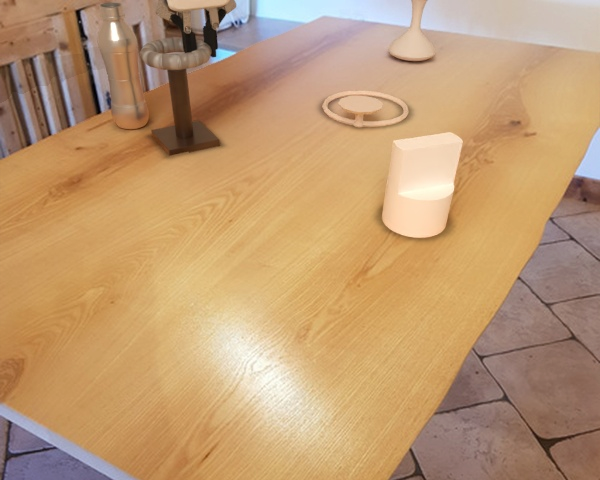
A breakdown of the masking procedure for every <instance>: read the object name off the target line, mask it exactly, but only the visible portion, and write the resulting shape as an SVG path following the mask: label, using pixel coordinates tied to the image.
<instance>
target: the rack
mask: <svg viewBox="0 0 600 480" xmlns="http://www.w3.org/2000/svg"><path fill="white" fill-rule="evenodd" d="M187 71H188V70H187V69H183V70H166V72H167V79H168V87H169V94H170V101H171V108H172V116H173V125H169V126H165V127H160V128H155V129H151V130H150V132H151V137H152V138H153V139H154V141H155V143H157V144H158V146H159V147H161V148H162V151H164V152H165V153H166V155H167V156H168V157H170V156H176V155H179V154H184V153H185V154H186V153H193V152H194V153H195V152H198V151H203V150H207V149H212V148H216V147H220V146H221V142H220V138H219V137H217V135H215V133H213V132H212V131H211V130H210V129H209V128H208V127H207V126H206V125H205V124H203V122H202V121H201V120H194V121H193V117H192V116H193V115H192V108H191V99H190V89H189V80H188V72H187Z"/></svg>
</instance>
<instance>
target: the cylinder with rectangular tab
mask: <svg viewBox="0 0 600 480" xmlns="http://www.w3.org/2000/svg"><path fill="white" fill-rule="evenodd" d="M463 143H464V141H463V139H462V138H461V137H460V136H459V135H457V134H456V133H453V132H451V131H449V132H442V133H434V134H429V135H422V136H414V137H408V138H402V139H394V140H392V146H391V153H390V159H389V160H390V161H389V168H388V175H387V178H386V184H385V190H384V197H383V206H382V214H381V220H382V221H381V222H383V224H384V226H385V227H387V228H388V229H389V230H390V231H392V232H394V233H395V234H398V235H402V236H403V237H410V238H420V239H424V238H431V237H434V236H436V235H439V234H441V233H442V232H443V231H444V230H445V229H446V226H447V222H448V218H449V214H450V210H451V204H452V200H453V196H454V192H455V178H456V174H457V170H458V165H459V161H460V157H461V152H462V149H463V148H462V147H463Z"/></svg>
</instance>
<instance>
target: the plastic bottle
mask: <svg viewBox="0 0 600 480" xmlns="http://www.w3.org/2000/svg"><path fill="white" fill-rule="evenodd" d="M98 9H99V13H100V14H99V16H100V19H101V20H102V24H101V26H100V28H99V31H98V32H97V38H96V39H97V46H98V49H99V52H100V55H101V58H102V61H103V64H104V67H105V71H106V75H107V79H108V80H107V81H108V84H109V93H110V100H111V101H110V113H111V116H112V120H113V122H114V123H115V124H116V125H117V126H118V127H119V128H121V129H125V130H137V129H140V128H142V127H145V126H146V125H147V124H148V122H149V120H150V110H149V107H148V103H147V100H146V99H145V94H144V92H143V87H142V83H141V77H140V68H139V48H138V46H139V45H138V39H137V36H136V34H135V32H134V31H133V30H132V28H131V27H130V25H129V24H127V22H126V21H125V18H126V14H125V12H124V7H123V4H122V3H120V2H114V1H113V2H112V1H111V2H109V1H108V2H102V3H100V4H99V5H98Z"/></svg>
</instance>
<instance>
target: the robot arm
mask: <svg viewBox="0 0 600 480" xmlns="http://www.w3.org/2000/svg"><path fill="white" fill-rule="evenodd" d="M236 8H237V2H236V1H235V0H157V4H156V7H155V15H156V16H157V17H159V18H161V19H164V20H166V21H169V22H171V23H173V24H174V25H175V27H177V28H178V29H179V30H180V33H181V37H182V42H183V50H184V52H183V53H188V52H192V51H195V50H197V46H196V39H197V37H196V33H195V32H193V27H192V15H191V13H192V12H191V11H198V10H203V15H204V25H203V27H202V32H203V33H202V35H203V42H205V43H206V44H208V45H209V46H210V47H211V50H212V53H211V56H210V58H217V50H219V43H218V29H220V24H221V23H222V22H223V20H224V19H225V17H226V15H228V14H229V13H231V12H232V11H234V10H235V9H236ZM169 9H170V10H171V11H170V10H169ZM173 11H174V12H173ZM175 12H176V13H175Z"/></svg>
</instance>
